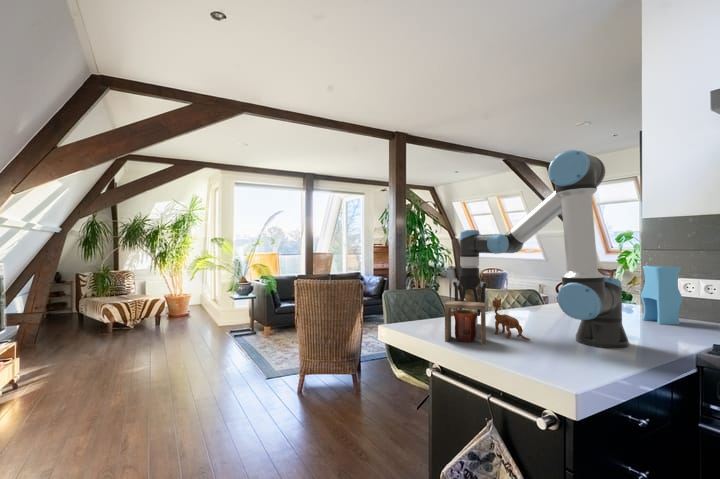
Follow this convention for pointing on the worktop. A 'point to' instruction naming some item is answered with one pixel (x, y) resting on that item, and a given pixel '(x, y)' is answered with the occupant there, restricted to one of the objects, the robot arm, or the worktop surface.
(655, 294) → the blue arched block
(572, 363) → the worktop surface
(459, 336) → the mug
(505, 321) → the orange brown animal figurine
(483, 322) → the brown wooden frame
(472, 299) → the wooden stepped block
